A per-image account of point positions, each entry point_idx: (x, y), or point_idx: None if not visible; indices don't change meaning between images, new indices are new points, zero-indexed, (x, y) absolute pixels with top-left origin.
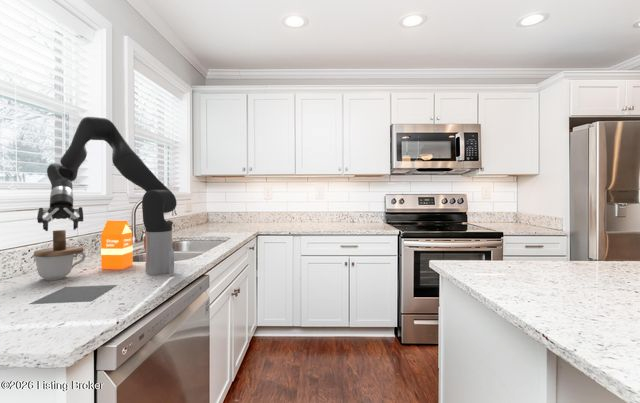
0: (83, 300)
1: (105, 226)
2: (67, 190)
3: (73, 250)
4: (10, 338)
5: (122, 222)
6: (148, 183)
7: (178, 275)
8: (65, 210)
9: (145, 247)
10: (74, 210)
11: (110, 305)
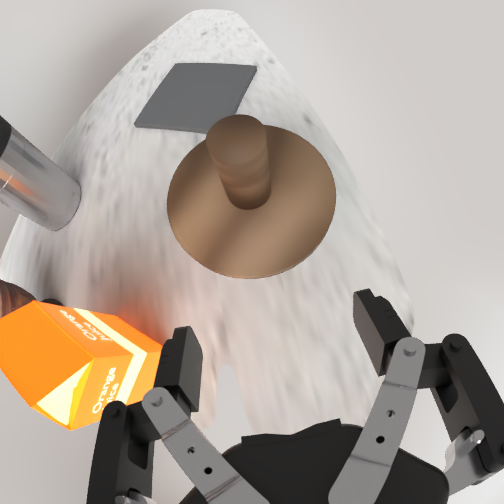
0: (185, 66)
1: (54, 382)
2: None
3: (195, 157)
4: (240, 20)
5: None
6: None
7: None
8: (242, 482)
9: (27, 302)
10: None
11: (157, 64)
